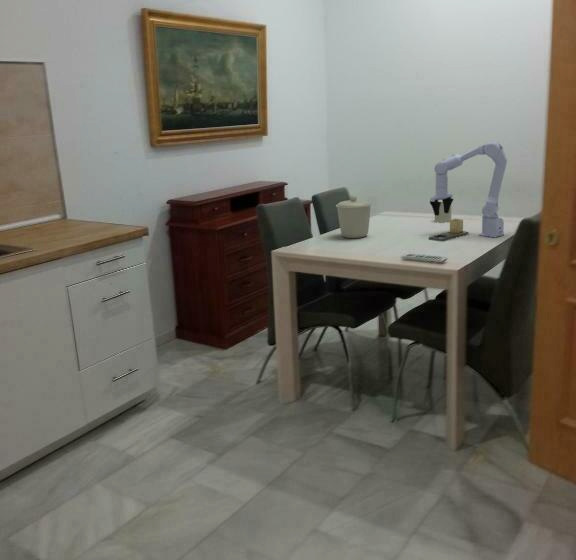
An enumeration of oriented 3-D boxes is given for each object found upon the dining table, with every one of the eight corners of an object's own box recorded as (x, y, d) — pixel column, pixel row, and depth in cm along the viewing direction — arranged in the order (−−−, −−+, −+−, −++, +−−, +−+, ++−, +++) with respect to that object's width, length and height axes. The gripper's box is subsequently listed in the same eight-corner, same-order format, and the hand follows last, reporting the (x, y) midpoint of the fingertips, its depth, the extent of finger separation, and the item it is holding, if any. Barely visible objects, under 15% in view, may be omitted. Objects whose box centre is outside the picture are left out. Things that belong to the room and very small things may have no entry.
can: (447, 223, 343) (447, 201, 340) (431, 222, 349) (431, 200, 346) (454, 220, 350) (454, 198, 347) (438, 219, 356) (438, 198, 353)
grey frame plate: (468, 234, 312) (468, 231, 311) (442, 241, 300) (442, 238, 299) (454, 232, 318) (454, 230, 318) (428, 239, 306) (428, 236, 306)
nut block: (462, 234, 312) (463, 219, 310) (457, 236, 309) (457, 220, 307) (455, 233, 315) (455, 218, 313) (449, 235, 313) (449, 219, 311)
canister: (371, 239, 314) (370, 197, 308) (335, 240, 318) (333, 198, 312) (373, 232, 331) (372, 192, 325) (339, 233, 335) (337, 193, 329)
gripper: (444, 184, 318) (444, 211, 322) (425, 188, 310) (425, 215, 313) (455, 185, 313) (455, 212, 316) (437, 188, 304) (437, 216, 308)
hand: (441, 214), depth 314 cm, fingers open, 7 cm apart
